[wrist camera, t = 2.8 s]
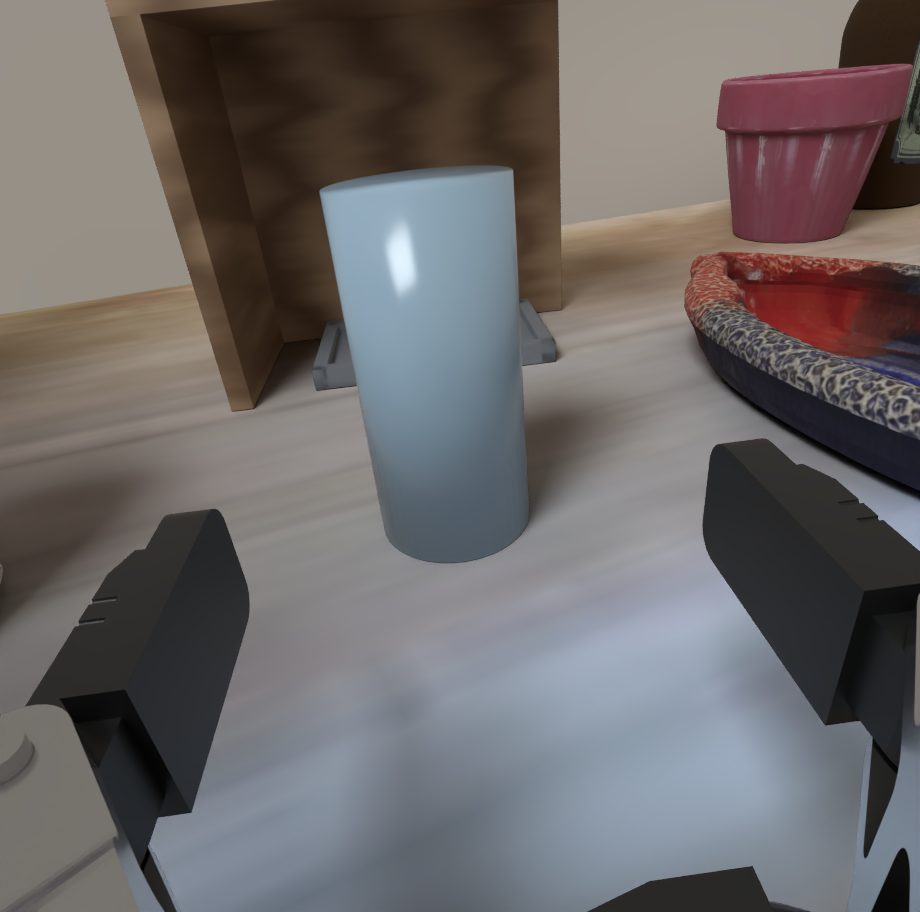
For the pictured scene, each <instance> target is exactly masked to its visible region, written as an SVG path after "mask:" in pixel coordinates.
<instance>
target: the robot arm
mask: <svg viewBox="0 0 920 912" xmlns="http://www.w3.org/2000/svg"><path fill="white" fill-rule="evenodd" d="M703 536H704V541H705V545H706V549H707V551H708V554H709V556H710V558H711V560H712V561H713V563H714V564H715V566H716V567H717V569H718V570H719V572H720V573H721V575H722V576H723V577H724V579H725V580H726V582H727V583H728V585H729V586H730V588H731V589H732V591H733V592H734V593H735V595H736V596H737V598H738V599H739V601H740V602H741V604H742V605H743V607H744V608H745V609H746V611H747V612H748V614H749V615H750V617H751V618H752V620H753V621H754V623H755V624H756V625H757V627H758V628H759V630H760V631H761V633H762V634H763V636H764V637H765V639H766V640H767V641H768V643H769V644H770V646H771V647H772V649H773V650H774V652H775V653H776V655H777V656H778V657H779V659H780V660H781V662H782V663H783V665H784V666H785V668H786V669H787V671H788V672H789V673H790V675H791V676H792V678H793V679H794V681H795V682H796V684H797V685H798V687H799V688H800V689H801V691H802V692H803V694H804V695H805V697H806V698H807V700H808V701H809V703H810V704H811V705H812V707H813V708H814V710H815V711H816V713H817V714H818V716H819V717H820V719H821V720H822V721H823V723H824V724H825V726H826V725H833V724H840V723H847V722H854V721H861V722H862V724H863V725H864V726H865V728H866V729H867V730H868V732H869V733H870V737H869V740H868V742H867V745H866V750H865V757H864V768H863V779H862V789H861V800H860V811H859V821H858V832H857V843H856V854H855V864H854V873H853V880H852V886H851V892H850V896H849V901H848V905H847V909H846V912H920V551H919V550H918V549H916V548H915V547H914V546H913V545H912V544H911V543H909V542H908V541H907V540H906V539H905V538H904V537H902V536H901V535H900V534H899V533H898V532H897V531H895V530H894V529H893V528H892V527H891V526H890V525H888V524H887V523H886V522H885V521H884V520H880V521H879V519H878V515H877V514H875V513H874V512H873V511H872V510H871V509H870V508H868V507H867V506H866V505H865V504H864V503H859V499H858V498H857V497H856V496H854V495H853V494H852V493H851V492H850V491H849V490H847V489H846V488H845V487H844V486H843V485H842V484H840V483H839V482H838V481H837V480H836V479H834V478H832V477H830V476H827V475H825V474H823V473H821V472H819V471H817V470H815V469H812V468H810V467H808V466H806V465H804V464H799V465H796V464H795V463H794V462H793V461H791V460H790V459H789V458H788V457H787V456H786V455H785V454H784V453H783V452H782V451H780V450H779V449H778V448H777V447H776V446H775V445H774V444H773V443H772V442H770V441H769V440H767V439H755V440H747V441H739V442H732V443H724V444H718V445H716V446H715V447H714V448H713V450H712V452H711V455H710V462H709V471H708V480H707V488H706V497H705V506H704V515H703ZM92 601H93V603H92V604H91V605H88V607H87V608H86V610H85V612H84V613H83V615H82V616H81V618H80V620H79V626H77V627H75V628H74V629H73V631H72V632H71V634H70V636H69V637H68V639H67V640H66V642H65V644H64V645H63V647H62V648H61V650H60V652H59V653H58V655H57V656H56V658H55V660H54V661H53V663H52V664H51V666H50V668H49V669H48V671H47V672H46V674H45V676H44V677H43V679H42V680H41V682H40V684H39V685H38V687H37V688H36V690H35V692H34V693H33V695H32V697H31V698H30V700H29V701H28V703H27V705H26V706H25V707H22V708H19V709H15V710H13V711H10V712H8V713H5V714H3V715H1V716H0V912H181V911H180V908H179V906H178V904H177V902H176V900H175V897H174V895H173V893H172V891H171V888H170V886H169V884H168V882H167V880H166V877H165V875H164V873H163V871H162V869H161V866H160V864H159V862H158V860H157V858H156V855H155V853H154V852H153V850H152V848H151V847H150V845H149V842H150V839H151V836H152V833H153V830H154V827H155V824H156V821H157V818H158V817H165V816H172V815H179V814H186V813H191V812H192V809H193V805H194V802H195V798H196V795H197V792H198V788H199V785H200V781H201V778H202V775H203V771H204V768H205V765H206V761H207V758H208V754H209V751H210V748H211V744H212V741H213V737H214V734H215V731H216V727H217V724H218V721H219V717H220V714H221V710H222V707H223V704H224V700H225V697H226V693H227V690H228V687H229V683H230V680H231V677H232V673H233V670H234V666H235V663H236V660H237V656H238V653H239V649H240V646H241V643H242V639H243V636H244V633H245V629H246V626H247V622H248V618H249V592H248V587H247V583H246V580H245V577H244V574H243V571H242V568H241V566H240V563H239V560H238V557H237V554H236V551H235V548H234V546H233V543H232V540H231V537H230V534H229V531H228V529H227V526H226V523H225V520H224V518H223V516H222V514H221V513H220V512H219V511H218V510H217V509H209V510H201V511H193V512H186V513H178V514H170V515H167V516H165V517H164V518H163V519H162V521H161V523H160V524H159V526H158V528H157V530H156V531H155V533H154V535H153V537H152V538H151V540H150V542H149V543H148V545H147V547H146V549H143V550H135V551H134V552H133V553H132V554H130V555H129V556H128V557H127V558H126V559H125V560H124V561H122V562H121V563H120V564H119V565H118V566H117V567H115V568H114V569H113V570H112V571H111V572H110V573H109V574H108V575H107V576H106V578H105V580H104V581H103V583H102V584H101V586H100V588H99V589H98V591H97V592H96V594H95V596H94V597H93V599H92ZM588 912H810V911H806V910H803V909H799V908H795V907H792V906H788V905H785V904H781V903H775V902H769V901H768V898H767V896H766V894H765V892H764V890H763V888H762V886H761V883H760V881H759V879H758V877H757V875H756V873H755V870H754V868H753V866H750V867H743V868H736V869H730V870H723V871H716V872H709V873H702V874H696V875H689V876H682V877H675V878H668V879H662V880H655V881H649V882H647V883H645V884H643V885H641V886H639V887H637V888H635V889H633V890H631V891H629V892H627V893H625V894H623V895H621V896H618V897H616V898H614V899H612V900H610V901H608V902H606V903H604V904H602V905H600V906H598V907H596V908H594V909H592V910H590V911H588Z"/></svg>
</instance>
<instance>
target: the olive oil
mask: <svg viewBox="0 0 920 912" xmlns="http://www.w3.org/2000/svg"><path fill="white" fill-rule="evenodd" d="M889 64H911V65H912V66H913V71H912V76H911V82H910V86H909V91H908V96H907V100H906V104H905V108H904V111H903V114H902V116H901V117H900V118H898V119H896V120H893V121H890V122H889V124H888V126H887V129H886V131H885V134H884V136H883V138H882V141H881V143H880V146H879V148H878V150H877V153H876V155H875V157H874V160H873V162H872V165H871V167H870V169H869V172H868V174H867V176H866V179H865V181H864V183H863V185H862V188H861V190H860V192H859V194H858V197H857V199H856V201H855V203H854V206H853V209H883V208H896V207H904V206H910V205H914V204H918V203H920V0H859V1H858V2H857V4H856V5H855V7H854V9H853V11H852V13H851V15H850V17H849V20H848V22H847V24H846V27H845V30H844V33H843V38H842V44H841V52H840V60H839V68H850V67H861V66H875V65H889ZM839 68H838V69H839Z"/></svg>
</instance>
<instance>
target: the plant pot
mask: <svg viewBox="0 0 920 912" xmlns="http://www.w3.org/2000/svg"><path fill="white" fill-rule="evenodd" d="M912 71H913V66H912V65H911V64H889V65H875V66H861V67H850V68H839V69H827V70H815V71H802V72H791V73H779V74H769V75H758V76H749V77H741V78H735V79H728V80H725V81H724V82H723V83H722V85H721V92H720V99H719V106H718V115H717V128H719V129H720V130H724V131H725V134H726V150H727V164H728V177H729V189H730V200H731V211H732V225H733V232H734V234H735V235H736V236H738V237H740V238H743V239H747V240H751V241H758V242H768V243H802V242H813V241H820V240H825V239H829V238H833V237H835V236H837V235H839V234H840V233H841V232H842V230H843V228H844V226H845V223H846V221H847V219H848V216H849V214H850V212H851V210H852V208H853V206H854V203H855V201H856V199H857V197H858V194H859V192H860V190H861V188H862V185H863V183H864V181H865V179H866V176H867V174H868V172H869V169H870V167H871V165H872V162H873V160H874V157H875V155H876V153H877V150H878V148H879V146H880V143H881V141H882V138H883V136H884V134H885V131H886V129H887V126H888V124H889V122H890V121H893V120H896V119H898V118H900V117H901V116H902V114H903V111H904V108H905V104H906V100H907V96H908V91H909V86H910V82H911V76H912Z"/></svg>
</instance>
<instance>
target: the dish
mask: <svg viewBox="0 0 920 912" xmlns="http://www.w3.org/2000/svg"><path fill="white" fill-rule="evenodd" d="M690 272H691V278H692V279H691V281H690V282H689V284H688V286H687V287H686V289H685V304H684V307H685V310H686V312H687V315H688V317H689V319H690V321H691V323H692V325H693V327H694V329H695V332H696V335H697V338H698V341H699V344H700V346H701V348H702V350H703V351H704V353H705V355H706V356H707V358H708V360H709V361H710V363H711V365H712V366H713V367H714V369H715V370H716V372H717V373H718V375H720V376H721V377H722V378H723V379H724V380H725V381H726V382H727V383H728V384H729V385H730V386H732V387H733V388H734V389H736V390H737V391H738V392H740V393H741V394H742V395H744V396H745V397H746V398H748V399H749V400H751V401H752V402H754V403H755V404H757V405H758V406H760V407H761V408H763V409H764V410H766V411H767V412H769V413H771V414H772V415H774V416H775V417H777V418H778V419H780V420H782V421H784V422H785V423H787V424H789V425H790V426H792V427H794V428H795V429H797V430H799V431H801V432H802V433H804V434H806V435H807V436H809V437H811V438H813V439H815V440H817V441H819V442H820V443H822V444H824V445H826V446H828V447H830V448H832V449H834V450H835V451H837V452H839V453H841V454H843V455H845V456H847V457H849V458H850V459H852V460H854V461H856V462H858V463H860V464H863V465H865V466H867V467H869V468H871V469H873V470H875V471H877V472H879V473H881V474H883V475H885V476H887V477H889V478H891V479H894V480H896V481H898V482H901V483H903V484H905V485H907V486H910V487H912V488H914V489H916V490H919V491H920V266H917V265H909V264H900V263H891V262H880V261H868V260H856V259H839V258H823V257H809V256H794V255H779V254H764V253H733V252H719V253H717V254H714V255H700V256H699V257H697V258H696V259H695V260H694V261H693V263H692V267H691V270H690Z"/></svg>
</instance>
